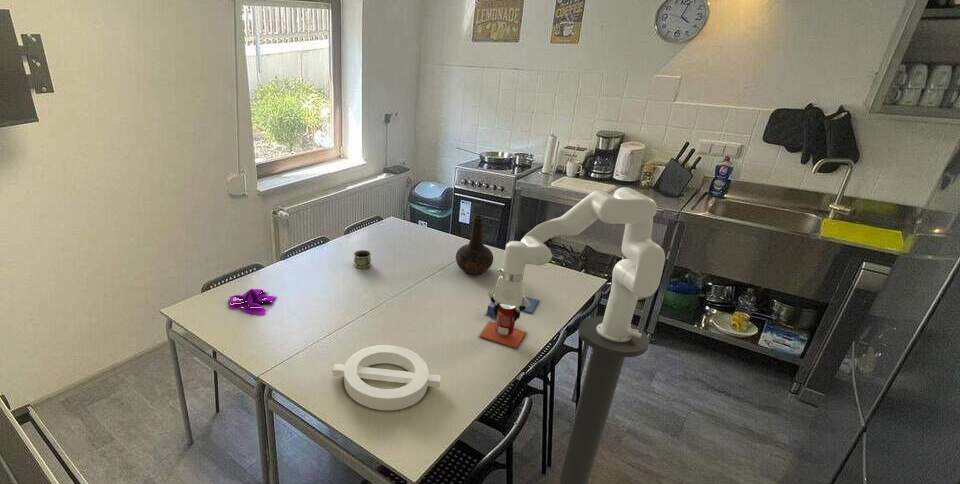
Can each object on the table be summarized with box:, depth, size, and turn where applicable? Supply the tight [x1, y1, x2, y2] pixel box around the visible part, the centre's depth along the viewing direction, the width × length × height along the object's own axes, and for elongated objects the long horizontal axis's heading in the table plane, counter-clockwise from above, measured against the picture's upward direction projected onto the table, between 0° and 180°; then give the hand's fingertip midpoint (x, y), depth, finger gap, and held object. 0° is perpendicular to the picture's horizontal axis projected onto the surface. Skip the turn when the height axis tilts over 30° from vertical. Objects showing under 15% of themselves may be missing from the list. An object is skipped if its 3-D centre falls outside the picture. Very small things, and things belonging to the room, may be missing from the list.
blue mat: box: [499, 296, 540, 314], centre depth 211 cm, size 14×12×1 cm
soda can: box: [495, 303, 516, 336], centre depth 186 cm, size 7×7×12 cm
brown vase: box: [455, 214, 494, 275], centre depth 234 cm, size 18×18×28 cm
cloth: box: [228, 288, 276, 316], centre depth 210 cm, size 22×19×6 cm
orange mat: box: [479, 321, 526, 349], centre depth 189 cm, size 14×12×1 cm
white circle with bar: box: [332, 344, 441, 411], centre depth 164 cm, size 28×28×5 cm
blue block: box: [486, 300, 500, 319], centre depth 202 cm, size 4×4×4 cm
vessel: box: [353, 249, 372, 269], centre depth 244 cm, size 12×9×6 cm
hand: (506, 316), depth 185 cm, fingers closed on soda can, 6 cm apart
